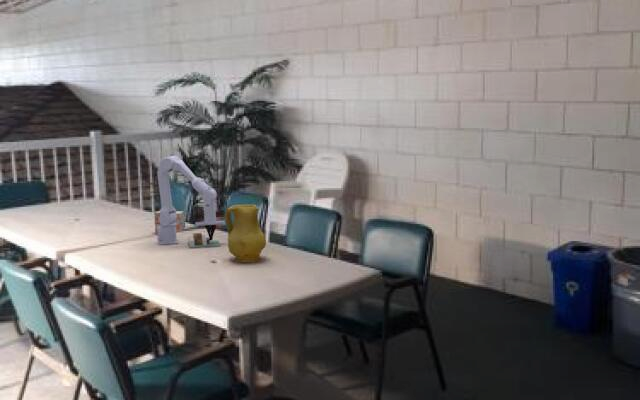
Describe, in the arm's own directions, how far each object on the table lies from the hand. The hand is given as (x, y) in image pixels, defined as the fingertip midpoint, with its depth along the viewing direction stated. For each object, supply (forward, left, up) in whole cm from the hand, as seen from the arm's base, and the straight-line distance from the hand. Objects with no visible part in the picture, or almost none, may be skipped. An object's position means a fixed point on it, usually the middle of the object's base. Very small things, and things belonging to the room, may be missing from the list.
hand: (210, 239), depth 326 cm
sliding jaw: (-3, 0, -2) cm, 3 cm away
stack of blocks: (-18, +40, -3) cm, 44 cm away
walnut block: (-7, 0, -2) cm, 7 cm away
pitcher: (+13, -34, -2) cm, 36 cm away
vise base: (-4, 0, -2) cm, 4 cm away
